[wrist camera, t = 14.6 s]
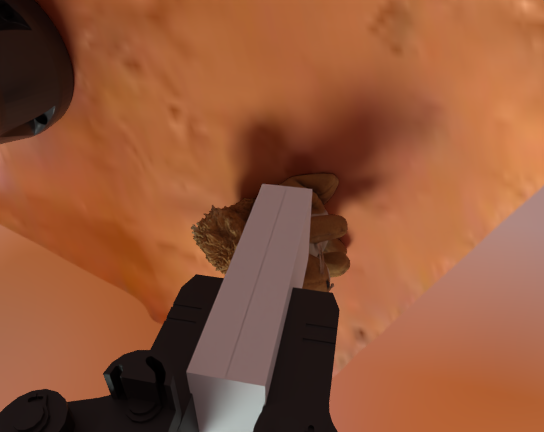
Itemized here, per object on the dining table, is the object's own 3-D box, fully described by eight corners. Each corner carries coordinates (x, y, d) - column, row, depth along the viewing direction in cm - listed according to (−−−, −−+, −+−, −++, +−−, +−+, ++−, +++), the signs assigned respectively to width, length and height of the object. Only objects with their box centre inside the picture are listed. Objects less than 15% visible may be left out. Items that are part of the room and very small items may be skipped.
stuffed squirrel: (352, 253, 49) (342, 356, 38) (224, 243, 52) (183, 336, 41) (356, 172, 43) (346, 268, 33) (212, 165, 46) (161, 251, 35)
